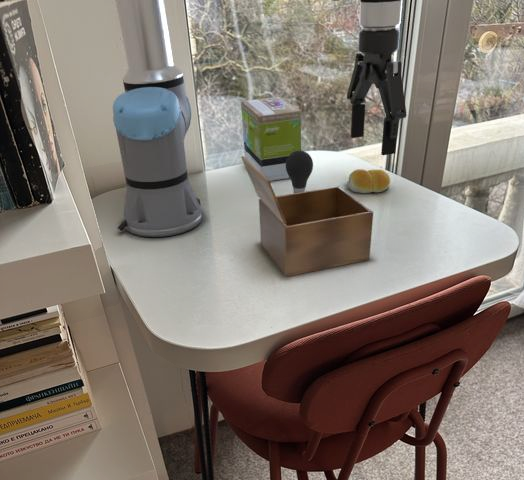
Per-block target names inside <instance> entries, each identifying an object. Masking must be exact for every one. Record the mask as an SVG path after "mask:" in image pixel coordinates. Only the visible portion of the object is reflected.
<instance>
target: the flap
mask: <svg viewBox="0 0 524 480" xmlns="http://www.w3.org/2000/svg"><path fill="white" fill-rule="evenodd" d="M241 161H242V162H243V165H244V167H245V170H246V172H247V174H248V177H249V179H250V181H251V183H252V186H253V188H254V191H255V193H256V195H257V197H258V198H259V199H261V200H262V201H263V202H264V203H265V204H266V205H267V206H268V207H269V208H270V209H271V210H272V212H273V213H274V214H275V215H276V216H277V217H278V218H279V219H280V220H281V221H282V222H283V223H284V224H285V223H286V221H285V218H284V216H283V213H282V211H281V208H280V206H279V203H278V201H277V198H276V196H277V195H276V193H275V191H274V188H273V186H272V183H271V181H269V180H268V179H267V178H266V177H265V176H264V175H263V174H262V173H261V172H260V171H259V170H258V169H257V168H255V167H254V166H253V165H252V164H251V163H250V162H249V161H248V160H247V159H246V158H245V155H242V156H241Z"/></svg>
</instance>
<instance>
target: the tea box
mask: <svg viewBox="0 0 524 480" xmlns="http://www.w3.org/2000/svg"><path fill="white" fill-rule="evenodd" d="M240 107H241V122H242V135H243V136H242V137H243V151H244V157H245V158H246V159H247V160H248V161H249V162H250V163H251V164H252V165H253V166H254V167H255V168H257V169H258V170H259V171H260V172H261V173H262V174H263V175H264V176H265V177H266V178H267V179H268V180H269V181H270V182H273V181H279V180H286V179H290V177H289V175H288V174H287V171H286V160H287V158H288V156H289V155H290V154H291V153H293V152H294V151H298V150H301V151H302V111H301V110H300V109H298V108H297V107H296V106H295V105H293V104H291V103H290V102H288V101H287V100H285V99H283V98H282V97H281V96H273V97H272V96H271V97H266V98H259V99H251V100H241V102H240Z"/></svg>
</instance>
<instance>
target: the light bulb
mask: <svg viewBox="0 0 524 480" xmlns="http://www.w3.org/2000/svg"><path fill="white" fill-rule="evenodd" d="M313 170H314V161H313V158H312V156H311V155H310V154H309V152H306V151H305V150H302V149H301V150H298V151H294V152H293V153H291V154H290V155H289V156H288V158H287V160H286V171H287V174H288V175H289V177H290V178H289V179H290V181H291V185H292V188H293V192H292V194H293V193H299V192H305V191H306V187H307V183H308V180H309V178H310V176H311V174H312V173H313Z"/></svg>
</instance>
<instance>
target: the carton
mask: <svg viewBox="0 0 524 480" xmlns="http://www.w3.org/2000/svg"><path fill="white" fill-rule="evenodd" d="M275 196H276V198H277V201H278V203H279V206H280V208H281V211H282V213H283V216H284V218H285V221H286V223H285V224H284V223H283V222H282V221H281V220H280V219H279V218H278V217H277V216H276V215H275V214H274V213H273V212H272V210H271V209H270V208H269V207H268V206H267V205H266V204H265V203H264V202H263V201H262V200H261V199H260V198H259V199H258V211H259V233H260V234H259V235H260V245H261V246H262V247H263V249H264V250H265V251H266V253H267V254H268V256H269V257H270V258H271V260H273V262H274V263H275V264H276V265H277V267H278V268H279V269H280V271H282V273H283V275H285V277H291V276H297V275H301V274H307V273H311V272H315V271H321V270H326V269H331V268H335V267H341V266H347V265H351V264H355V263H361V262H367V261H370V257H371V246H372V245H371V243H372V235H373V221H374V211H373V210H371V209H370V208H369V207H368V206H366V205H365V204H363V203H362V202H361V201H359V200H358V199H357V198H355V197H354V196H352V195H351V194H350V193H349V192H348V191H346V190H345V189H343V188H342V187H341V186H339V185H335V186H329V187H323V188H317V189H312V190H305V192H299V193H293V192H292V193H288V194H282V195H275Z"/></svg>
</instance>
